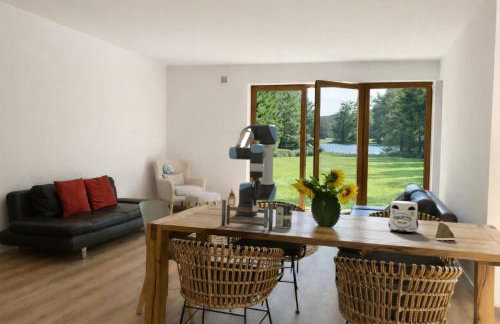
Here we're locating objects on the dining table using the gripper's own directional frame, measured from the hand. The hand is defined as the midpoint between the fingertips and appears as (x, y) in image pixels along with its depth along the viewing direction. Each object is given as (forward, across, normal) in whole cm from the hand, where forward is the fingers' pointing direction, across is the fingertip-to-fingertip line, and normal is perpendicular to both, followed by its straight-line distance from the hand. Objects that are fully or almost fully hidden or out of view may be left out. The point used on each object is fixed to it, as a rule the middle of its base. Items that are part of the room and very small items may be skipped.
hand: (255, 211), depth 247 cm
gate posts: (+12, +6, +7) cm, 15 cm away
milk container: (+12, +40, -83) cm, 93 cm away
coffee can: (+12, +20, -12) cm, 27 cm away
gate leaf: (+11, +6, +7) cm, 14 cm away
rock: (+12, +24, -105) cm, 109 cm away
